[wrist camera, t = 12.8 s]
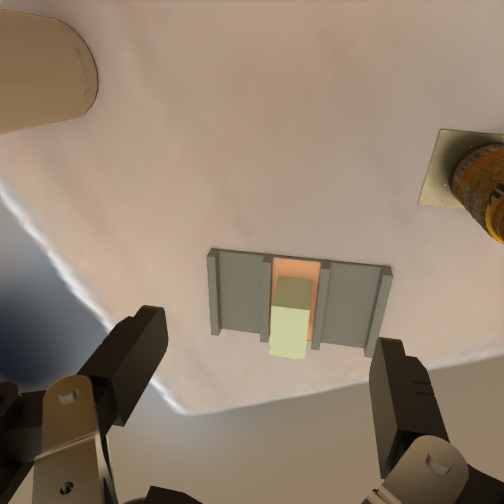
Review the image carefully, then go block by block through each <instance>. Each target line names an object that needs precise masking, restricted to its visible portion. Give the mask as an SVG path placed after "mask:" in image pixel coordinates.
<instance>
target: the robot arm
mask: <svg viewBox="0 0 504 504" xmlns="http://www.w3.org/2000/svg"><path fill="white" fill-rule="evenodd" d="M97 84H98V81H97V71H96V67H95V64H94V60H93V58H92V56H91V53H90V51H89V49H88V48H87V46H86V44H85V43H84V41H83V40H82V39H81V38H80V36H79V35H78V34H77V33H76V32H75V31H74V30H73V29H71V28H70V27H69V26H68V25H66V24H65V23H63V22H61V21H59V20H57V19H53V18H49V17H43V16H37V15H30V14H24V13H18V12H12V11H6V10H0V134H4V133H8V132H13V131H17V130H22V129H26V128H31V127H35V126H40V125H44V124H49V123H54V122H58V121H62V120H67V119H71V118H75V117H79V116H80V115H82V114H84V113H85V112H86V111H87V110H88V109H89V108H90V107H91V105H92V104H93V102H94V100H95V96H96V93H97ZM167 346H168V331H167V324H166V317H165V311H164V308H162V307H156V306H148V305H143V306H142V307H141V308H140V309H139V311H138V312H137V313H136V314H135V316H134V317H130V316H128V317H127V318H125V319H124V320H122V321H121V322H119V323H118V324H116V326H115V327H114V328H113V329H112V331H111V332H110V333H109V336H107V337H106V338H105V339H104V340H103V342H102V344H101V345H100V346H99V347H98V348H97V349H96V350H95V352H94V353H93V354H92V355H91V357H90V358H89V359H88V361H87V362H86V363H85V364H84V366H83V367H82V368H81V369H80V370H79V372H78V373H77V374H76V375H71V376H67V377H64V378H62V379H60V380H58V381H57V382H55V383H54V384H53V385H51V386H50V387H49V388H48V390H44V391H35V392H27V393H20V391H19V389H18V387H17V385H16V384H14V383H11V382H0V504H8V502H9V501H10V499H11V498H12V496H13V495H14V493H15V492H16V490H17V489H18V487H19V486H20V484H21V483H22V481H23V480H24V478H25V477H26V476H27V474H28V473H29V471H30V470H31V468H32V467H33V465H34V472H33V493H32V504H118V500H117V495H116V491H115V484H114V477H113V470H112V463H111V456H110V449H109V443H108V436H107V432H108V431H109V429H110V428H111V426H112V425H116V426H122V427H124V425H125V424H126V422H127V420H128V418H129V417H130V415H131V413H132V411H133V409H134V408H135V406H136V404H137V402H138V400H139V399H140V397H141V395H142V394H143V392H144V390H145V388H146V386H147V385H148V383H149V381H150V379H151V377H152V376H153V374H154V372H155V370H156V369H157V367H158V365H159V363H160V361H161V360H162V358H163V356H164V354H165V352H166V350H167ZM369 387H370V395H371V403H372V411H373V419H374V427H375V435H376V443H377V451H378V459H379V466H380V475H381V479H385V481H384V482H383V483H382V485H381V486H380V487H379V488H378V489H377V490H376V489H374V490H372V491H371V492H370V493H369V494H368V496H367V497H366V498H365V500H364V501H363V502H362V504H504V482H502V481H499V480H497V479H495V478H493V477H491V476H488V475H487V474H484V473H482V472H480V471H478V470H476V469H475V468H473V467H472V466H470V465H469V464H468V463H466V461H465V459H464V457H463V456H462V454H461V453H460V452H459V451H458V450H457V449H456V448H455V447H454V446H452V445H451V443H450V441H449V438H448V435H447V432H446V429H445V426H444V423H443V419H442V416H441V413H440V410H439V407H438V404H437V401H436V398H435V397H434V391H433V388H432V386H431V382H430V378H429V375H428V372H427V369H426V368H425V367H424V366H423V365H422V363H421V362H420V361H419V360H418V358H417V357H411V356H406V355H405V351H404V347H403V343H402V341H401V340H398V339H391V338H383V337H378V339H377V341H376V346H375V350H374V354H373V358H372V362H371V366H370V373H369ZM123 504H202V503H201V502H199V501H197V500H196V499H194V498H192V497H191V496H189V495H187V494H185V493H183V492H178V491H174V490H169V489H165V488H160V487H156V486H151V487H150V489H149V491H148V494H147V496H146V497H143V498H138V499H133V500H131V501H128V502H125V503H123Z"/></svg>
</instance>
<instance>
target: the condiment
mask: <svg viewBox="0 0 504 504" xmlns="http://www.w3.org/2000/svg"><path fill="white" fill-rule="evenodd" d="M470 146H472V147H470ZM444 184H446V185H447V187H449V190H448V189H447V187H445V186H444ZM418 205H426V206H435V207H445V208H454V209H464V210H468V212H469V213H470V214H471V215H472V217H473V218H474V219H475V220H476V221H477V222H478V223H479V224H480V225H481V226H482V228H483V229H484V230H485V231H487V233H488V234H489V235H490V236H491V237H493V238H494V239H496V240H497V241H499V242H501V243H503V244H504V135H501V134H490V133H476V132H465V131H451V130H441V131H440V134H439V138H438V140H437V143H436V146H435V149H434V153H433V156H432V159H431V162H430V165H429V169H428V172H427V175H426V178H425V182H424V186H423V188H422V192H421V196H420V199H419V202H418Z"/></svg>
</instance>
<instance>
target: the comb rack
mask: <svg viewBox="0 0 504 504" xmlns="http://www.w3.org/2000/svg"><path fill="white" fill-rule="evenodd" d="M207 271H208V287H209V304H210V320H211V335H216V336H219V334H220V331H221V329H229V330H237V331H244V332H251V333H258V334H260V342H265V343H268V339H269V335H270V333H271V306H272V301H273V297H274V293H275V289H276V284H277V280H278V276H286V277H296V278H305V279H312V288H311V301H310V314H309V323H308V333H307V340H308V341H312V345H311V349H314V350H319V348H320V342H323V343H330V344H337V345H344V346H352V347H359V348H364V354H365V357H370V358H373V354H374V350H375V346H376V341H377V339H378V336H379V332H380V328H381V324H382V320H383V315H384V311H385V307H386V303H387V299H388V295H389V291H390V287H391V282H392V278H393V274H392V271H391V268H390V267H388V266H378V265H368V264H359V263H349V262H339V261H329V260H319V259H309V258H300V257H290V256H280V255H270V254H260V253H250V252H241V251H231V250H221V249H211V250H210V252H209V253H208V255H207Z"/></svg>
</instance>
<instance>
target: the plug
mask: <svg viewBox="0 0 504 504" xmlns="http://www.w3.org/2000/svg"><path fill="white" fill-rule="evenodd" d="M311 288H312V279H305V278H296V277H286V276H278V280H277V284H276V289H275V293H274V297H273V301H272V306H271V333H270V355H275V356H282V357H289V358H296V359H303V360H305V353H306V343H307V333H308V323H309V314H310V301H311Z"/></svg>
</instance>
